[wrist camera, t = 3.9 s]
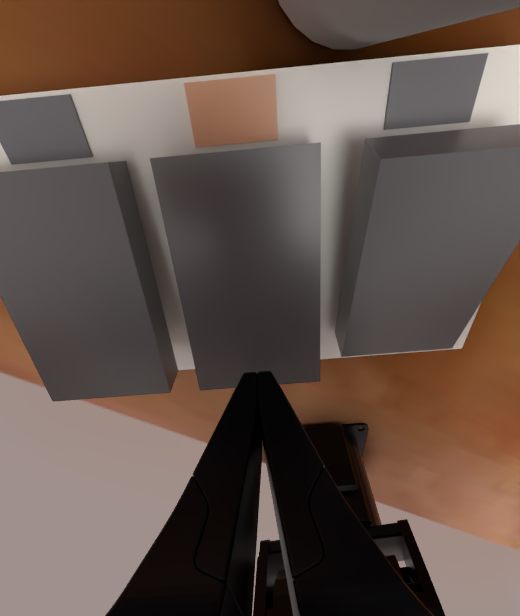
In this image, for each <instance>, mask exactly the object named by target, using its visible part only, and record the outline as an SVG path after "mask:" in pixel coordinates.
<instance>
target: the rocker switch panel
mask: <svg viewBox="0 0 520 616" xmlns="http://www.w3.org/2000/svg"><path fill="white" fill-rule="evenodd" d="M516 124H520V45H510V46H500V47H490V48H480V49H470V50H460V51H449V52H439V53H429V54H419V55H409V56H399V57H389V58H379V59H368V60H358V61H348V62H338V63H328V64H318V65H308V66H298V67H288V68H277V69H267V70H257V71H247V72H237V73H227V74H217V75H207V76H196V77H186V78H176V79H166V80H156V81H146V82H136V83H126V84H116V85H105V86H95V87H85V88H75V89H65V90H55V91H45V92H35V93H24V94H14V95H4V96H0V172H8V171H19V170H29V169H40V168H51V167H62V166H72V165H83V164H94V163H105V162H118V161H126V162H127V166H128V170H129V174H130V178H131V182H132V186H133V190H134V194H135V198H136V202H137V206H138V210H139V214H140V218H141V222H142V226H143V230H144V234H145V238H146V242H147V246H148V251H149V255H150V259H151V263H152V267H153V271H154V275H155V279H156V283H157V287H158V291H159V295H160V299H161V303H162V307H163V311H164V315H165V319H166V323H167V327H168V331H169V335H170V339H171V343H172V348H173V352H174V356H175V360H176V364H177V368H178V370H189V369H195V365H194V360H193V356H192V351H191V347H190V342H189V337H188V333H187V328H186V324H185V319H184V314H183V310H182V305H181V300H180V296H179V291H178V287H177V282H176V277H175V273H174V268H173V264H172V259H171V254H170V250H169V245H168V240H167V236H166V231H165V227H164V222H163V217H162V213H161V208H160V203H159V199H158V194H157V190H156V185H155V180H154V176H153V171H152V167H151V162H150V158H158V157H169V156H180V155H191V154H201V153H212V152H223V151H234V150H244V149H255V148H266V147H277V146H287V145H298V144H309V143H320V142H321V269H320V359H332V358H345V357H341V354H340V350H339V346H338V343H337V339H336V335H335V325H336V319H337V312H338V306H339V300H340V293H341V287H342V280H343V274H344V268H345V261H346V255H347V249H348V242H349V236H350V230H351V223H352V217H353V211H354V204H355V198H356V191H357V185H358V179H359V172H360V166H361V160H362V153H363V147H364V141H365V138H376V137H387V136H398V135H408V134H419V133H430V132H441V131H451V130H462V129H473V128H484V127H494V126H505V125H516ZM480 304H481V303H480ZM479 306H480V305H479ZM479 306H478V308H477V310H476V311H475V313H474V314H473V316H472V318H471V319H470V321H469V322H468V324H467V326H466V327H465V329H464V330H463V332H462V333H461V335H460V337H459V338H458V340H457V341H456V343H455V345H454V346H453V348H451V349H462V347H463V344H464V342H465V340H466V337H467V335H468V333H469V330H470V328H471V325H472V323H473V321H474V318H475V316H476V313H477V311H478V309H479ZM438 350H449V349H438ZM425 351H436V350H425ZM412 352H423V351H412ZM399 353H410V352H399ZM386 354H397V353H386ZM373 355H384V354H373ZM360 356H371V355H360ZM347 357H358V356H347Z"/></svg>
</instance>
